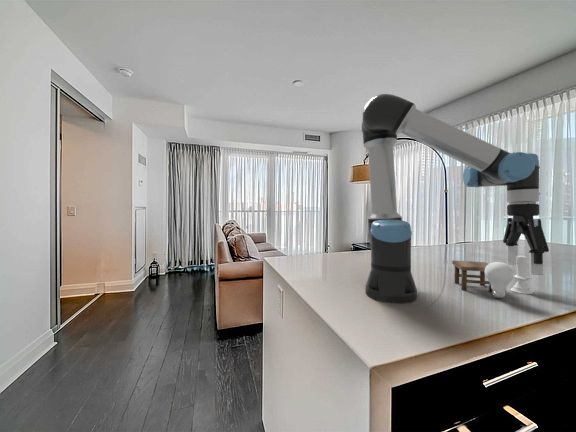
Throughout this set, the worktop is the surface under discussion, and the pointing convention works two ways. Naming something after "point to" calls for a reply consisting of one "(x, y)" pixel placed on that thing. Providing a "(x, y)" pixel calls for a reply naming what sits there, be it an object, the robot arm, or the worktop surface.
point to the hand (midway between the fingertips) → (523, 269)
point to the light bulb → (499, 278)
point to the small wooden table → (466, 267)
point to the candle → (521, 276)
